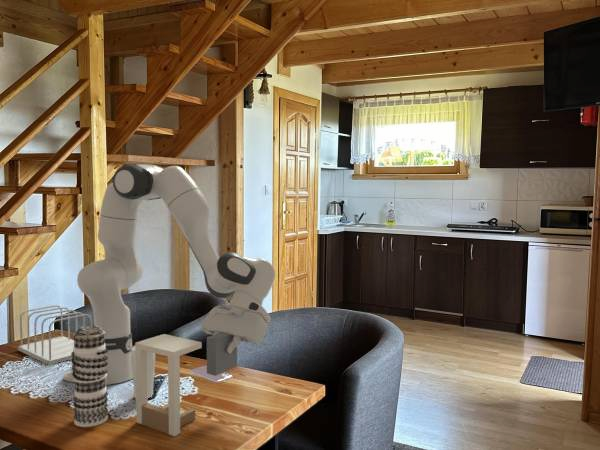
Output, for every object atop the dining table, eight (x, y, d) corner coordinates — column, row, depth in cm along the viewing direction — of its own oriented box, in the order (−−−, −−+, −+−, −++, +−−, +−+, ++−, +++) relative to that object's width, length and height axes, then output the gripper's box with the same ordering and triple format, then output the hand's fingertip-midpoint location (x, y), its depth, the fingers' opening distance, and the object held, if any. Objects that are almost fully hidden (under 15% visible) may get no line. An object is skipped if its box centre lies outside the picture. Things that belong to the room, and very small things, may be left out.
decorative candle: (102, 409, 148) (101, 321, 146) (114, 421, 141) (112, 328, 139) (68, 418, 143) (66, 326, 141) (78, 430, 135) (76, 334, 134)
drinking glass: (142, 403, 152) (142, 352, 151) (126, 398, 156) (125, 348, 155) (160, 396, 158) (159, 346, 157) (144, 391, 162) (144, 342, 161)
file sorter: (17, 351, 200) (16, 310, 199) (63, 341, 213) (62, 302, 212) (49, 365, 184) (47, 321, 183) (95, 354, 198) (95, 312, 196)
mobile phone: (206, 364, 185) (234, 374, 175) (206, 367, 185) (234, 377, 175) (187, 369, 179) (215, 381, 169) (187, 372, 179) (215, 384, 169)
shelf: (168, 407, 150) (168, 332, 149) (206, 419, 143) (205, 340, 141) (136, 422, 140) (135, 342, 139) (174, 436, 133) (173, 352, 131)
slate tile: (228, 364, 152) (228, 329, 151) (237, 366, 150) (237, 331, 149) (206, 373, 144) (206, 337, 143) (215, 375, 142) (215, 339, 142)
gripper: (210, 298, 157) (187, 338, 150) (266, 307, 146) (244, 351, 139) (220, 309, 161) (198, 349, 154) (276, 320, 150) (254, 363, 143)
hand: (220, 350), depth 146 cm, fingers closed on slate tile, 3 cm apart
